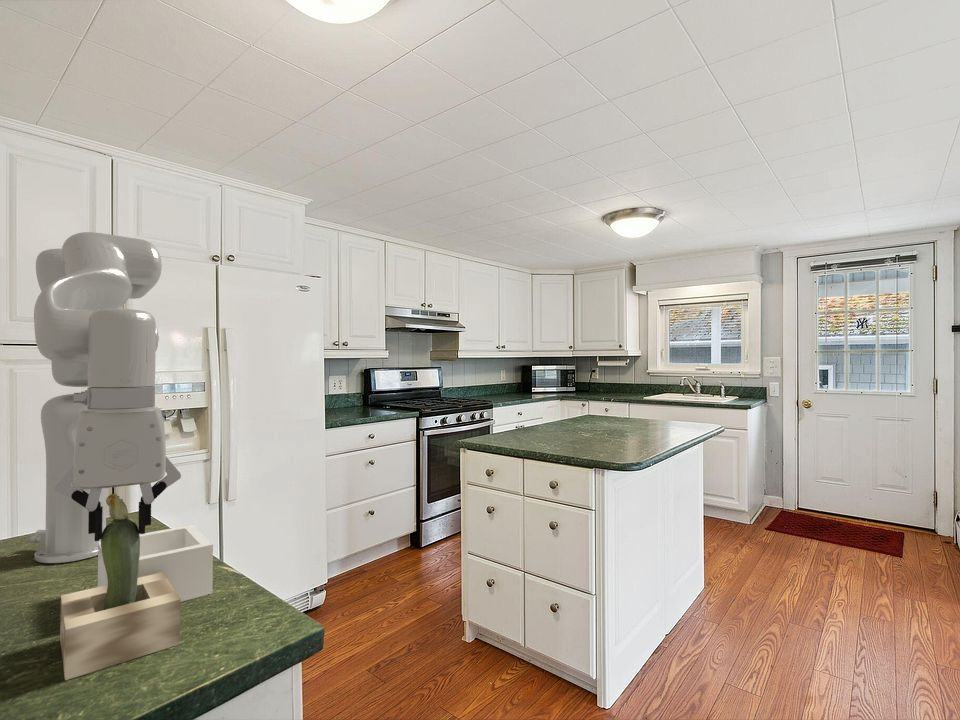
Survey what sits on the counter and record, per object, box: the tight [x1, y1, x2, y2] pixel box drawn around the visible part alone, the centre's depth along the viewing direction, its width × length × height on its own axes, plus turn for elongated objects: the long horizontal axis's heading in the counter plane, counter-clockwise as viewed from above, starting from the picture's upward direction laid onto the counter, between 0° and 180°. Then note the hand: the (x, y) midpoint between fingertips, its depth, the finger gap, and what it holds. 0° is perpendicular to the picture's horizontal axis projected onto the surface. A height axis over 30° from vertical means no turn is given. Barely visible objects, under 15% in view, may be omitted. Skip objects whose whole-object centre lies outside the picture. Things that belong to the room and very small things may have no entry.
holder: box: [59, 572, 182, 681], centre depth 69 cm, size 12×12×6 cm
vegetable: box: [101, 493, 140, 610], centre depth 69 cm, size 4×4×20 cm
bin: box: [97, 524, 214, 603], centre depth 84 cm, size 14×14×8 cm
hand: (120, 533), depth 69 cm, fingers closed on vegetable, 4 cm apart
